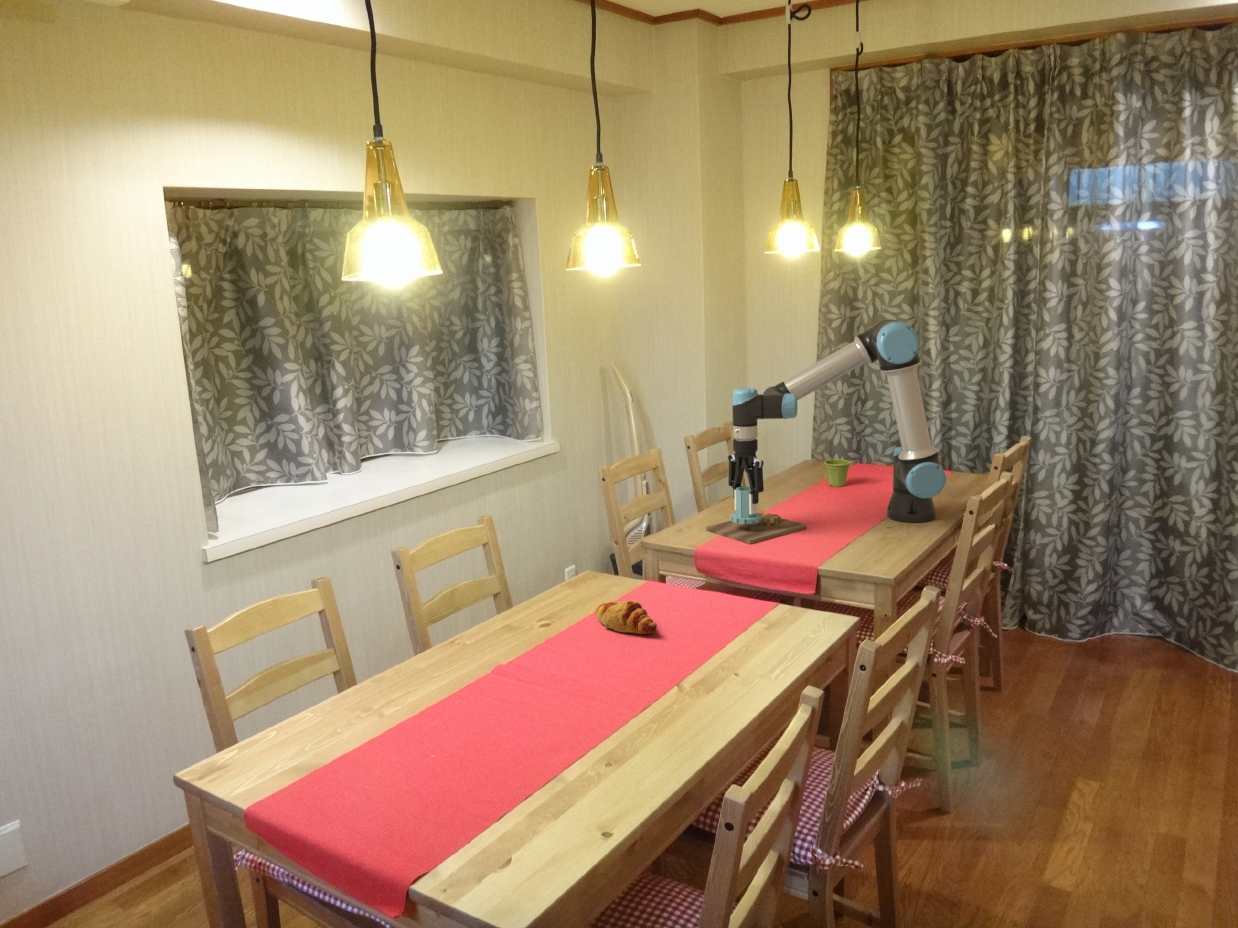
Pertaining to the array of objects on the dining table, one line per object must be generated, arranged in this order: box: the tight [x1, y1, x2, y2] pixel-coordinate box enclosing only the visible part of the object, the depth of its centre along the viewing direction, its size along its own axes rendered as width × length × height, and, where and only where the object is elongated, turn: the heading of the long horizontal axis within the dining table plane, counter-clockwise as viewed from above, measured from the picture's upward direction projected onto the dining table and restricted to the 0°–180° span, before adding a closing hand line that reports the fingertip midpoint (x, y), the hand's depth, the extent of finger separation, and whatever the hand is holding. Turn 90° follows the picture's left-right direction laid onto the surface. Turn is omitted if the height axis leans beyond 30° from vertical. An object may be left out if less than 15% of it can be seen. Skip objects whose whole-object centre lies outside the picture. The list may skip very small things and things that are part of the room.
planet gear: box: [729, 486, 762, 524], centre depth 306 cm, size 10×10×10 cm
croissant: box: [595, 599, 658, 635], centre depth 236 cm, size 21×10×8 cm, turn 42°
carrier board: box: [705, 512, 807, 545], centre depth 310 cm, size 20×24×6 cm
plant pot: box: [823, 458, 852, 488], centre depth 361 cm, size 9×9×9 cm
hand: (746, 511), depth 307 cm, fingers closed on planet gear, 6 cm apart
